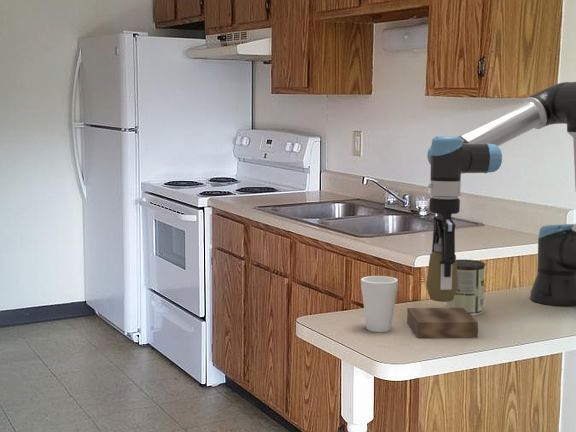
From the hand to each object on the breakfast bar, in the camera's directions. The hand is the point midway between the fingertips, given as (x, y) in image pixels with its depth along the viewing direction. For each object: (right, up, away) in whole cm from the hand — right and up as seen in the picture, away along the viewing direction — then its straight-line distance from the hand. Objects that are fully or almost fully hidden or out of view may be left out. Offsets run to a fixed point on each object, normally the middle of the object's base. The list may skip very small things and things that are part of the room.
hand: (442, 285), depth 205 cm
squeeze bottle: (0, -4, 0) cm, 4 cm away
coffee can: (+10, -9, +21) cm, 25 cm away
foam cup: (-16, -12, +3) cm, 20 cm away
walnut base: (0, -12, +1) cm, 12 cm away
